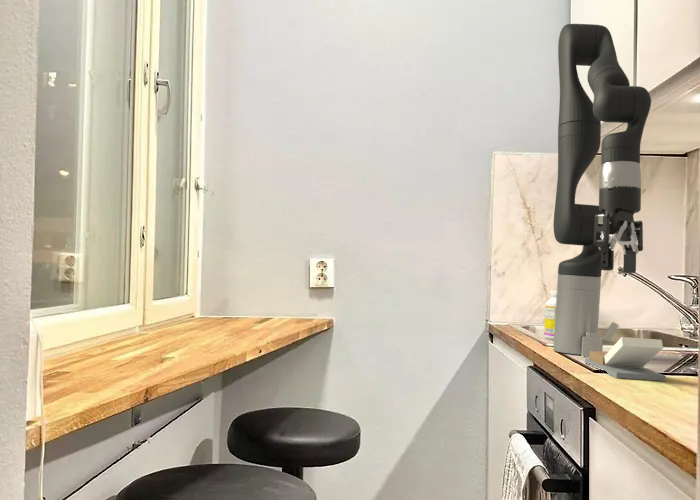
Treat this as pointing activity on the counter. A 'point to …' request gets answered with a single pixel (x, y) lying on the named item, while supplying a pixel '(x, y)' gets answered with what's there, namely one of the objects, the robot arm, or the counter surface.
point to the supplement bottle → (550, 316)
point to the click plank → (633, 351)
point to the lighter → (596, 340)
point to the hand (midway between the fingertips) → (618, 271)
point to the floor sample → (622, 368)
